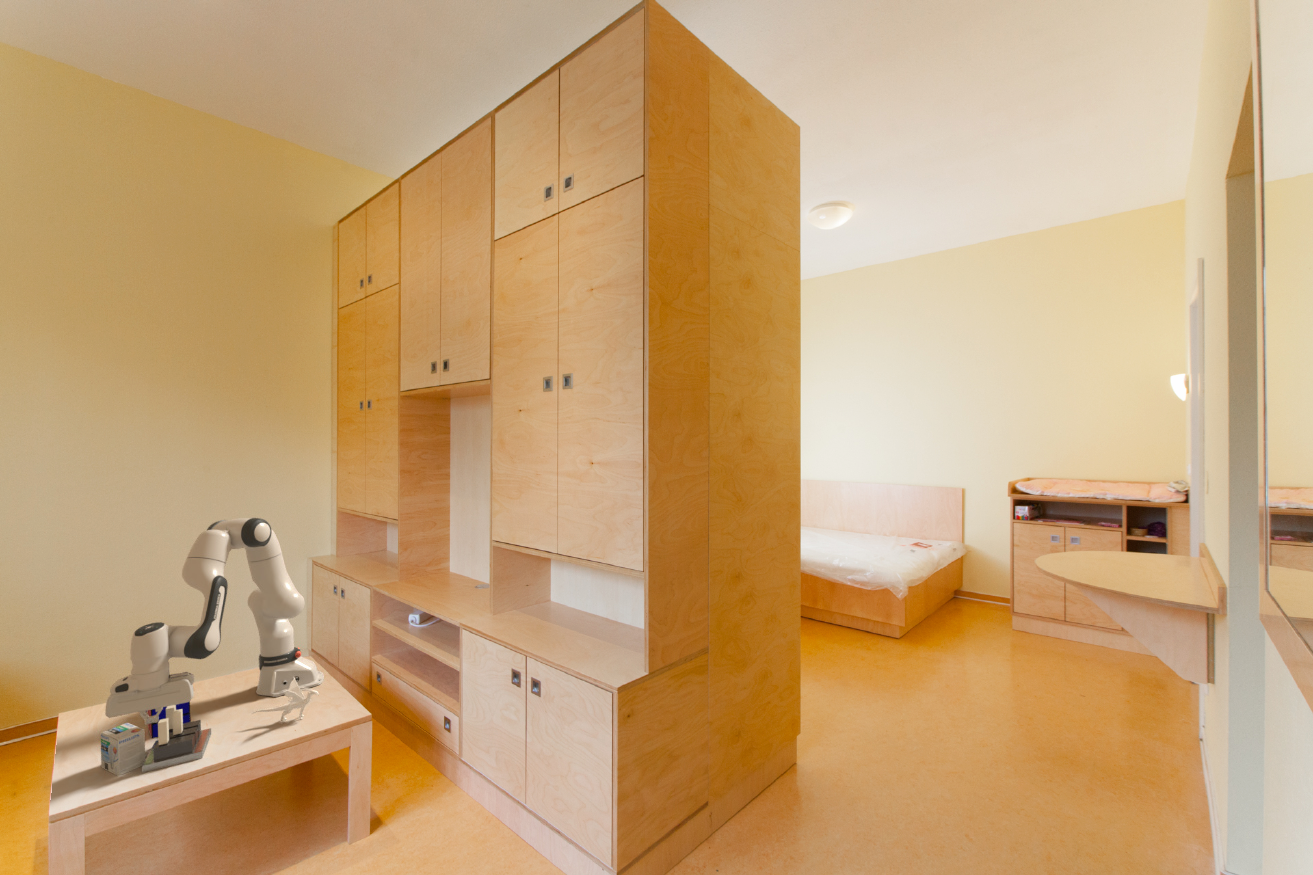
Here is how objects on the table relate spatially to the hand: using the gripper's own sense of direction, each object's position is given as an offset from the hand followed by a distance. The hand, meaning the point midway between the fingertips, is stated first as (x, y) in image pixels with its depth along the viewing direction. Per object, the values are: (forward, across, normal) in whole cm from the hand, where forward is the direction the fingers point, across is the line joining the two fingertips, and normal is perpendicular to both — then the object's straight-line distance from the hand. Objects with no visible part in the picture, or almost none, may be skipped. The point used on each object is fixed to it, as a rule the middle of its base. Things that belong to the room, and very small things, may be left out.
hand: (151, 722), depth 173 cm
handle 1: (+5, -4, +5) cm, 8 cm away
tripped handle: (+5, -6, 0) cm, 8 cm away
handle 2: (+5, -4, -5) cm, 8 cm away
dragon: (+11, -34, -5) cm, 36 cm away
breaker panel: (+11, -6, 0) cm, 13 cm away
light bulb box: (+11, +7, 0) cm, 13 cm away
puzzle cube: (+11, 0, -21) cm, 24 cm away
